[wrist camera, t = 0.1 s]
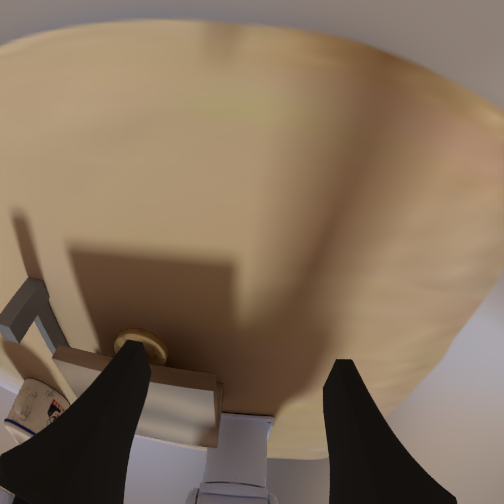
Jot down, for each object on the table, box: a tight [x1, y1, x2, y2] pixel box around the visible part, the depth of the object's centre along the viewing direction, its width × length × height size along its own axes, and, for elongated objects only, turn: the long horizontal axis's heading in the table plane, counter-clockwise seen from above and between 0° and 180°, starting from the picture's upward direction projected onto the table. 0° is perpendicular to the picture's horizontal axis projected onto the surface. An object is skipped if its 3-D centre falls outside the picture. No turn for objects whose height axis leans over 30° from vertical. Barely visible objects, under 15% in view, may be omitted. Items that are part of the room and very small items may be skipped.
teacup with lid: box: [4, 379, 70, 445], centre depth 31 cm, size 12×9×12 cm
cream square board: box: [52, 344, 223, 448], centre depth 25 cm, size 12×14×6 cm
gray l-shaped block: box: [0, 278, 69, 355], centre depth 24 cm, size 12×2×6 cm, turn 176°
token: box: [114, 328, 169, 367], centre depth 26 cm, size 5×5×2 cm
